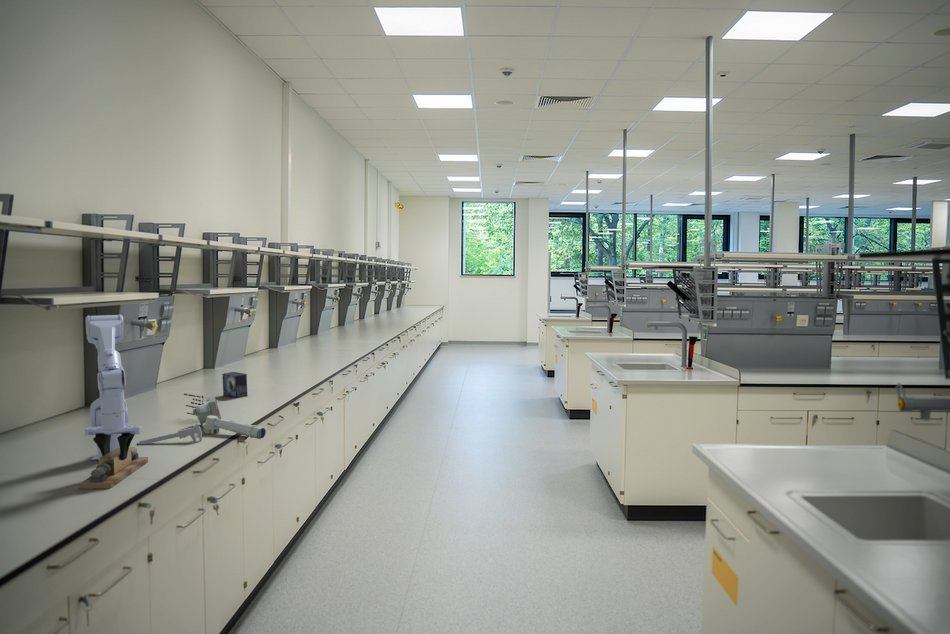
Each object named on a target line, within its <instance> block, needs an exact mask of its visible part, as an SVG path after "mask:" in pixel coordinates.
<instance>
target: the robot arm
mask: <svg viewBox="0 0 950 634" xmlns="http://www.w3.org/2000/svg"><path fill="white" fill-rule="evenodd" d="M124 332H125V324H124V316H123V315H122V314H121V313H120V314H112V315H111V314H107V315H87V316H86V317H85V334H86V340H87V342H88V343H89V344H92V345H94V347H95V348H96V350H97V358H96V359H97V369H98V372H97V388H98V391H99V397H98V398H97V399H95V400H94V401H93V402H92V403H91V404H90V411H89V412H90V416H89V417H90V426H89V427H86V428H84V435H85V436H86V437H87V436H88V437H89V436H94V437H93V439H92V440H93V442H94V443H95V444H96V453H97V454H96V455H94V456H93V457H91V461H95V460H98V459H99V458H101V457H103V456H104V455H106V454H108V453H109V452H111V451H113V450H114V449H116V448H120V457H121V460H125V459H126V458H127V454H128V449H129V448H130V446H131V443H132V440H133V439H134V437H135V435H141V434H142V433H143V426H142V425H129V424H128V423H129V413H128V411H129V409H128V404H127V401H126V400H125V389H126V386H127V385H126V371H125V369H124V366H122V359H121V357H122V356H121V353H120V352H119V351H117V350H116V344H117V343H119V342H121V341H122V340H123V337H124ZM98 461H99V460H98Z"/></svg>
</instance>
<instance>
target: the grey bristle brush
mask: <svg viewBox="0 0 950 634" xmlns="http://www.w3.org/2000/svg"><path fill="white" fill-rule="evenodd" d="M183 395H184V396H189V397H193V398H192V401H190V404H192V405H189V404H188V405H187V404H185V407H189V408H191V409H192V412H186V414H187V415H192V416H196V417H197V419H198V420H199V424H200V427H203V423H205V422H206V418H207V416H210V415H213V416H217V417H218V418H219V419H222V416H221V412H220V409H219V406H218V403H217V399H216V396H210V397H209V399H207V400H206V402H207V403H203V402H204V400H202V399H204V396H203V395H195V394H190V393H189V394H188V393H183ZM198 398H199V399H198ZM193 401H197V402H199V403H197V402H193ZM200 402H201V403H200ZM194 405H197V406H194Z"/></svg>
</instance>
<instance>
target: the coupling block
mask: <svg viewBox="0 0 950 634" xmlns="http://www.w3.org/2000/svg"><path fill="white" fill-rule="evenodd" d="M100 463H107V464H108V465H109V466H110V469H111V470H110V473H109V474H108V475H115V474H116V473H118V472H119V471H120V470H122V469H123V468H125V467H126V466H128V465H129V464H131V463H132V459H131V448H130V447H129V449H128V454H127V458H126V459H125V460H121V457H120V448H116V449H114V450H113V451H111V452H109V453H108V454H106V455H104V456H103V457H101V458H99V459H98V465H99V464H100Z"/></svg>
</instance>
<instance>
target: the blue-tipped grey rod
mask: <svg viewBox="0 0 950 634" xmlns="http://www.w3.org/2000/svg"><path fill="white" fill-rule="evenodd" d="M202 428H203V431H202V433H204V434H206V435H209V434H212V435H215V434H219V433H220V429H221V430H226V431H229V432H233V433H236V434H240V435H243V436H247V437H249V438H251V439H253V438H254V439H259V440H261V439H263V438H264V437H266V432H267V430H266V429H265V428H264V427H261V426H258V425H257V424H254V425H252V424H248V423H243V422H238V421H233V420H228V419H224V418H221V419H219V418H218V417H217V416H213V415H210V416H207V418H206V422H205V423H203V426H202Z"/></svg>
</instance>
